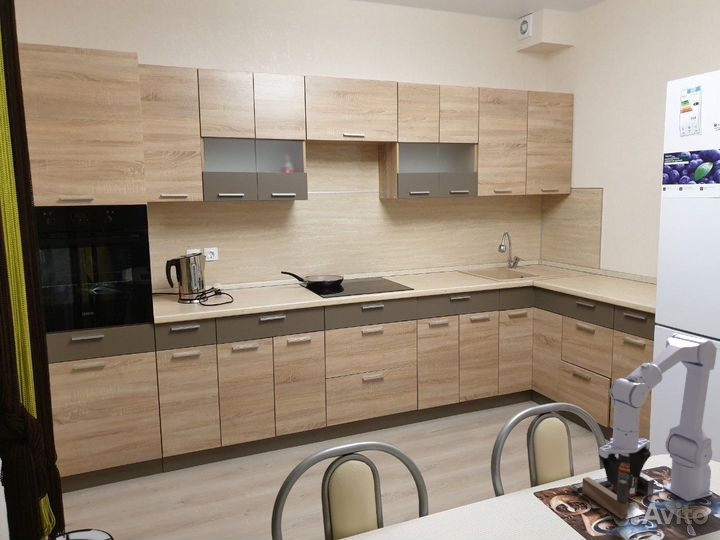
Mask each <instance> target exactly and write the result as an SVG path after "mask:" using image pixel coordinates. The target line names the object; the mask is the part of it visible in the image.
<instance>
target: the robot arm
mask: <svg viewBox="0 0 720 540" xmlns="http://www.w3.org/2000/svg"><path fill="white" fill-rule="evenodd" d="M716 357H717V346H716V345H715V344H714V343H713V341H712V340H709V339H703V338H702V339H701V338H697V337H692V336H688V335H683V334H680V333H677V332H676V333H673V334H671V335H670V336H669V338H667V340H666V343H665V348H664V349H663V350H662V351H661V352H660V353H659V354H658V355H657V356H656V358H654V360H652V361H651V362H642V364H640V365H639V366H638V367H637V368H636V369H634V370H633V371H632V372H631V373H629V374H628V375H627V376H626V377H624V378H622V377H620V378H618V379H615V380H614V381H613V382H612V384H611V387H610V389H609V396H610V398H611V400H612V401H611V405H612V407H613V408H614V409H613V424H612V425H613V429H612V430H613V431H612V437H611V438H609V441H610V442H608V443H606V444H605V445H603V446H601V447H599V449H598V458H599V460H600V461H601V463H602V465H603V468H604V472H605V475H606V477H607V481H609V482H611V483H612V485H613V484H616V481H617V473H618V469H619V466H620V464H621V462H622V461H620V460H619V459H617V457H618V456H616V455H619V454H620V453H629V458H630V475H632V476H634V477H636V478H639V476H640V473H641V472H642V471H643V469H644V466H645V464H646V462H647V461H648V459H649V458H650V457H651V453H652V452H651V451H649V450H648V449H650V448H651V440H649V439H646V438H639V434H640V433H639V432H640V421H641V420H640V419H641V418H640V415H641V406H643V405H644V404H645V402H647V401H646V400H647V398H648V397H649V395H650V391H651V390H652V389H654V388H655V387H656V386H657V385H659V384H660V383H661V382H662V380H663V374H664V373H666V372H667V371H668V370H670V369H671V368H673V367H675V365H677V364H679V363H682V365H683V366H684V367H685V368H686V376H685V383H684V389H683V395H682V396H683V397H682V405H681V410H680V411H681V412H680V418H679V424H676V425H674V426H672V427H671V428H669V432H668V435H667V437H666V440H665V445H664V446H665V449H666V452H667V453H669V458H671V471H670V472H671V473H670V482H669V483H667V484H663V485H662V488H663V489H665V490H667V491H669V492H670V493H672V494H674V495H676V496H677V497H679V498H681V499H683V500H684V501H687V502H691V501H694V500H697V499H701V498H706V497H709V496H712V495H713V492H712V491H710V488H711V478H712V476H711V475H712V470H711V467H710V465H709V463H710V462H711V461H712V457H713V450H712V438H711V437H710V436H709V435H708V434H707V432H706V431H704V429H703V428H702V427H703V421H704V413H705V406H706V400H707V394H708V388H709V387H708V386H709V379H710V373H711V371H713V370H714V369H715V365H716Z"/></svg>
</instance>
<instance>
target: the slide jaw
mask: <svg viewBox="0 0 720 540" xmlns="http://www.w3.org/2000/svg"><path fill="white" fill-rule="evenodd" d="M582 483H583V484H582V492H581V493H584V494H586V495H587V496H589V497H590V498H592V499H593V500H595V501H596V502H597V503H599V504H600V505H602V506H603V507H605V508H606V509H608V510H609V511H611V512H612V513H614V514H615V515H616V516H618V517H619V518H621V519H623V518H626V517H627V516H628V503H629V501H628V498H629V497H628V482H627V481H624V480H619V481H618V489H617V493H615V492H613V491H612V490H610V489H608V488H607V487H606V486H602V485H600V484H599V483H597V482H596V481H594V479H593V478H591V477H589V476H588V477H587V476H586V477H583V478H582Z"/></svg>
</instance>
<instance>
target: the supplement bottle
mask: <svg viewBox="0 0 720 540" xmlns="http://www.w3.org/2000/svg"><path fill="white" fill-rule="evenodd" d="M616 457H617V459H619V460H620V461H622V462H621V464H620V466H619V469H618V473H617V481H616V484H612V490H613V491H614V493H615V494H617V489H618V481H619V480H624V481H627V482H628V498H631V497H634V496H636V495H637V492H638V490H637V478H636V477H634V476H632V475H630V458H629V453H620V454H617V456H616Z"/></svg>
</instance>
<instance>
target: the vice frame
mask: <svg viewBox="0 0 720 540" xmlns="http://www.w3.org/2000/svg"><path fill="white" fill-rule="evenodd" d="M593 480H594V479H593ZM594 481H596V482H597V483H599V484H600V485H602V486H604V487H608V486H613V484H612V483H611V482H609V481H607V476H606V477H602V478H599V479H595V480H594ZM654 483H655V479H654V478H652V477H651V476H649V475H648V474H645V473H643V472H642V471H641V473H640V476H639V478H637V492H640V493H641V494H643V495H644V496H647V497H651V496H654V490H655V489H654V488H655V487H654V486H655V485H654ZM582 484H583V482H582V483H578V484H574V485H572V486H573V491H574V492H575V493H576V494H579V496H581V497H582V498H583V499H584V500H587V502H590V503H591V504H592V505H594V506H595V507H596V508H598V509H599V510H600V511H602V512H604V513H605V514H606V515H608V516H609V517H611V518H612V519H614V520H615V521H617V522H621V521H626V520H629V519H633V518H636V517H639V516H643V515H646V512H644V511H643V510H641V509H639V508H638V507H636V506H635V505H633V503H632V504H631V503H629V502H628V516H627V517H626V518H623V519H621V518H619V517H618V516H616V515H615V514H614V513H612V512H611V511H609V510H608V509H606V508H605V507H603V506H602V505H600V504H599V503H597V502H596V501H595V500H593V499H592V498H590V497H589V496H587V495H586V494H584V493H583V492H582Z"/></svg>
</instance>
